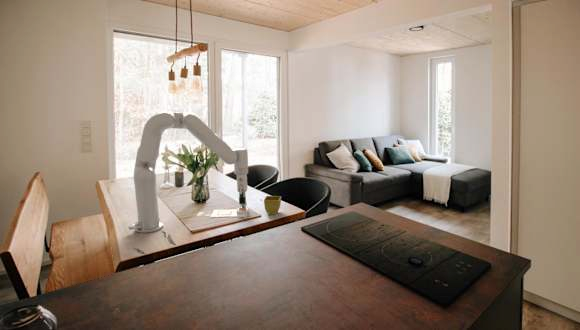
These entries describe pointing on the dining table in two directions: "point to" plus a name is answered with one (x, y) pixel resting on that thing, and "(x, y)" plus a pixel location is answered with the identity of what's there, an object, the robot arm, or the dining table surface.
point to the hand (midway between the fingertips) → (242, 202)
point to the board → (230, 213)
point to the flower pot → (272, 204)
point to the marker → (245, 201)
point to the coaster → (204, 214)
